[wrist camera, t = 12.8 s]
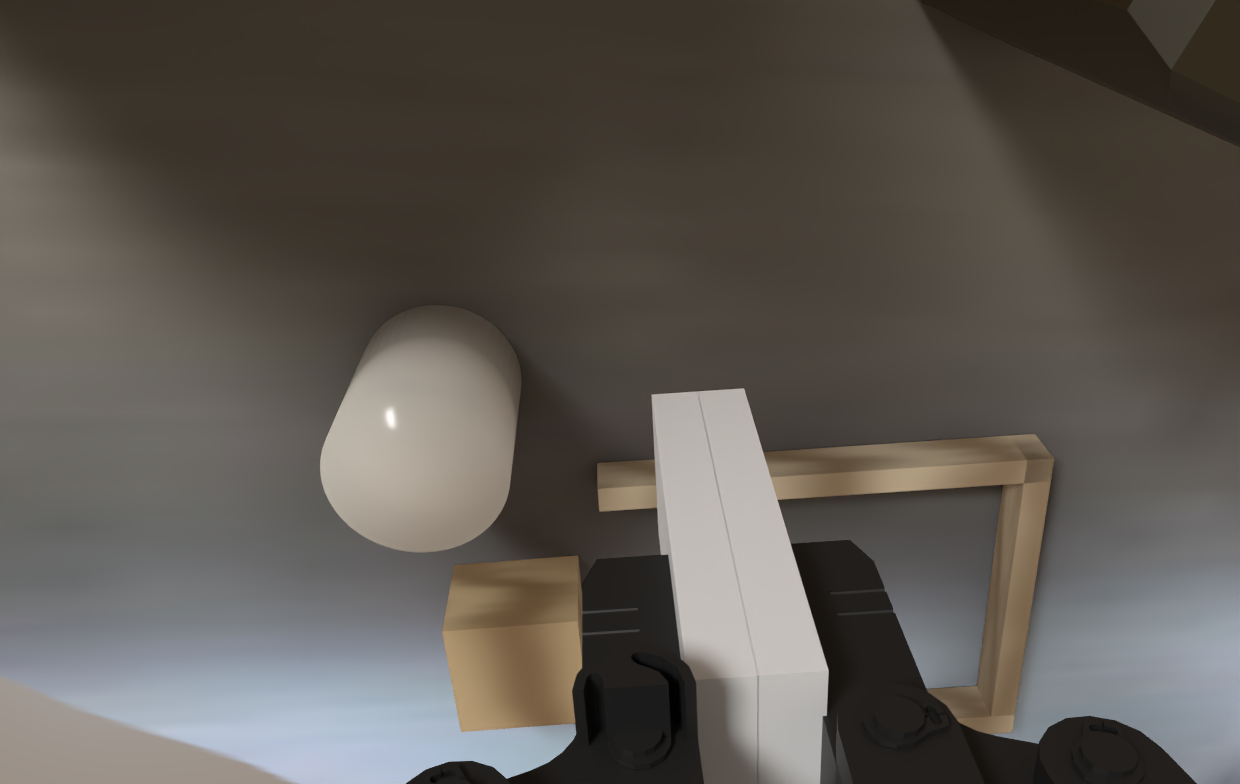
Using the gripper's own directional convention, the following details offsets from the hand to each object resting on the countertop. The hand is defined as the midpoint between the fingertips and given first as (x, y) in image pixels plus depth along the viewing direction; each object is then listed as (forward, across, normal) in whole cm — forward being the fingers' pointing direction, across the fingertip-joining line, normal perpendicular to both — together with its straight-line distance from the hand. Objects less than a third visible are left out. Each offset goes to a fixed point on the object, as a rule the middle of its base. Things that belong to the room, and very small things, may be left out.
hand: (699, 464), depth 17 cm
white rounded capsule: (+27, -9, -11) cm, 30 cm away
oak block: (+27, -7, -24) cm, 36 cm away
